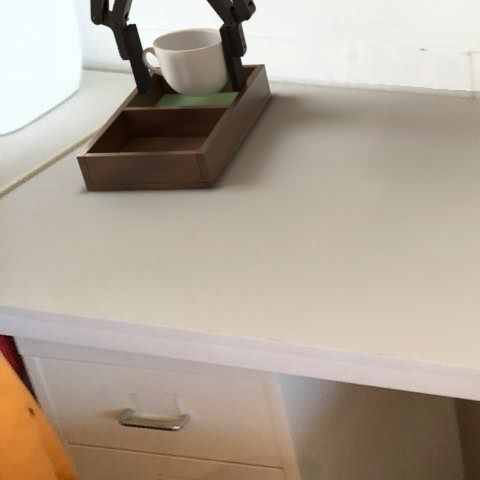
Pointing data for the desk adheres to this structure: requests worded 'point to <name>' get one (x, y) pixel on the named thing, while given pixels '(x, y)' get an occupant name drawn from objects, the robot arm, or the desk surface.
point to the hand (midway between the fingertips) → (192, 87)
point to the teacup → (191, 61)
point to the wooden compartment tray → (173, 136)
